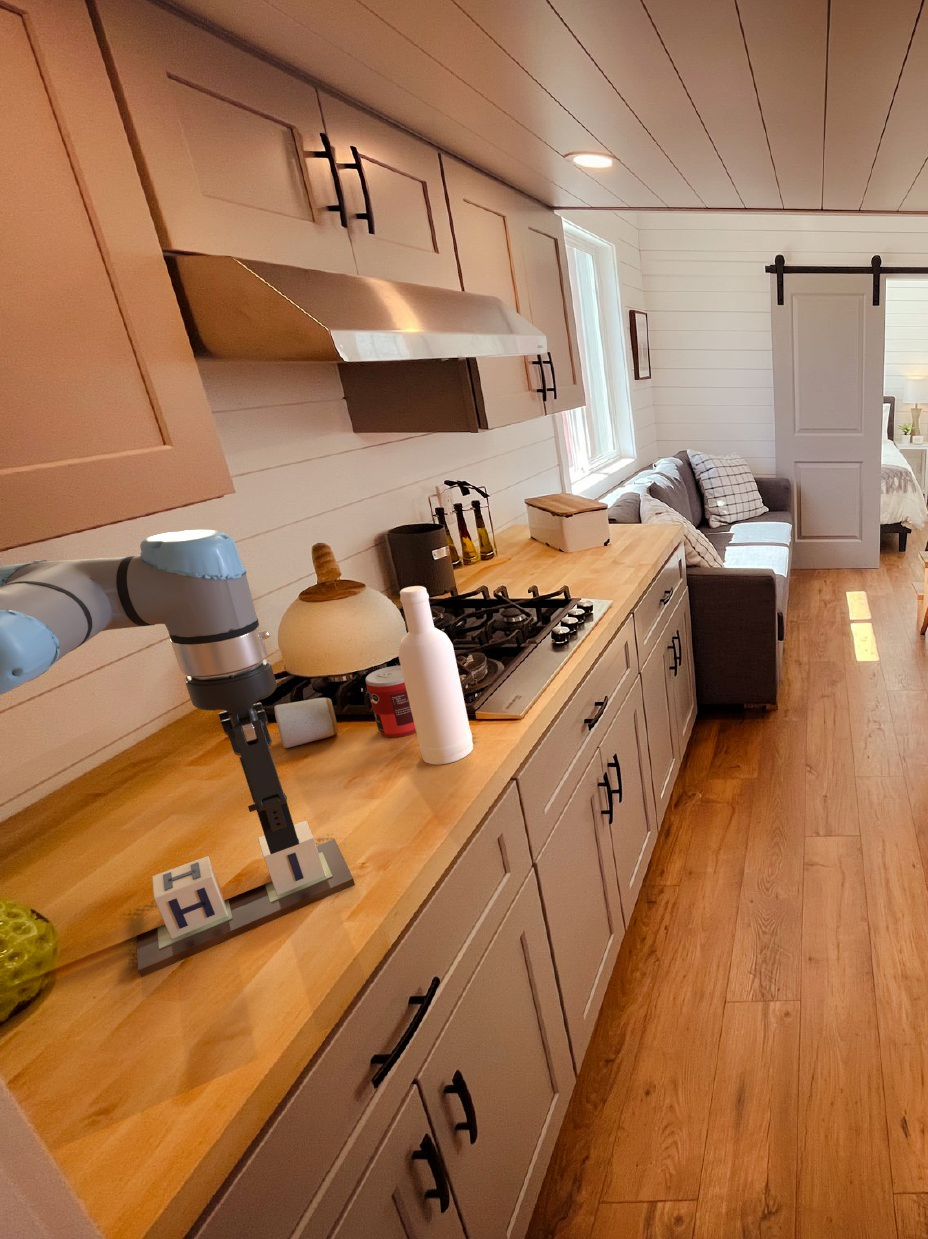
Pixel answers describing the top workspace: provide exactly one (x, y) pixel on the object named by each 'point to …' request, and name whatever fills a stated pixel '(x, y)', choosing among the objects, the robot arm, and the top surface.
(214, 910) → the letter H
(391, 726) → the canned food
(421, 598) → the bottle
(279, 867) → the letter I
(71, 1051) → the top surface
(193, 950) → the word board
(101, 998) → the top surface
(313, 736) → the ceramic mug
